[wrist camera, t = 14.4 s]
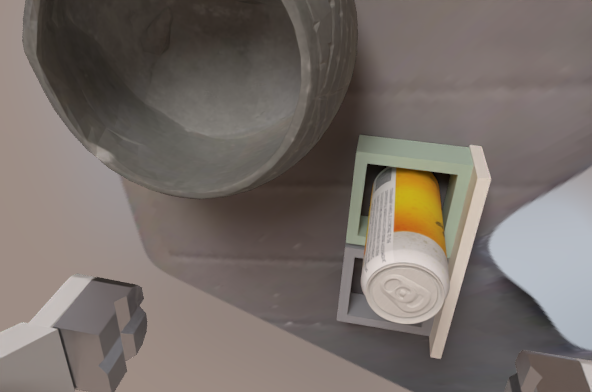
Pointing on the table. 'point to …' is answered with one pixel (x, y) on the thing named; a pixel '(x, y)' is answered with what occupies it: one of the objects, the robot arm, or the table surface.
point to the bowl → (194, 84)
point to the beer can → (405, 247)
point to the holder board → (456, 220)
